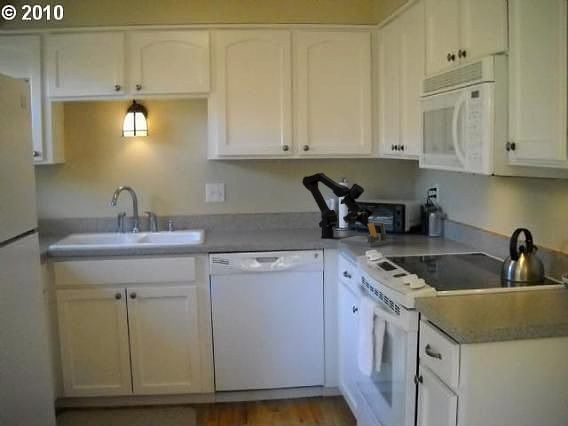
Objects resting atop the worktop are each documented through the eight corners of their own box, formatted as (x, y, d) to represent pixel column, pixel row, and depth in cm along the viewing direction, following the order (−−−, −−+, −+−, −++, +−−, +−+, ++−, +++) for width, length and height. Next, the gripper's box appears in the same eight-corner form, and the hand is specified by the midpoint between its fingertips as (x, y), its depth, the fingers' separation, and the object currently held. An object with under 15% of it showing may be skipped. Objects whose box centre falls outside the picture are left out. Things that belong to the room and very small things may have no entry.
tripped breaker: (371, 240, 295) (366, 224, 296) (375, 239, 298) (371, 223, 299) (374, 239, 294) (369, 223, 295) (378, 239, 296) (374, 222, 297)
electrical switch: (385, 237, 319) (385, 221, 317) (382, 239, 315) (381, 223, 313) (370, 236, 324) (370, 220, 322) (366, 238, 320) (366, 222, 318)
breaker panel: (340, 242, 303) (340, 232, 302) (357, 239, 313) (357, 229, 313) (370, 247, 289) (370, 236, 288) (387, 243, 299) (387, 233, 299)
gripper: (354, 213, 316) (370, 234, 309) (332, 216, 303) (348, 238, 296) (366, 199, 309) (382, 221, 303) (344, 202, 296) (360, 225, 290)
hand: (368, 227), depth 298 cm, fingers closed
